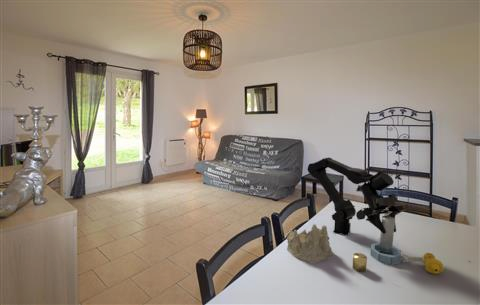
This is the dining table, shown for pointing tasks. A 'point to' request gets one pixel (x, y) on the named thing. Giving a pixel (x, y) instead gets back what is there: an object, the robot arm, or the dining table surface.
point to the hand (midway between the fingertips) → (390, 232)
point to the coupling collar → (383, 257)
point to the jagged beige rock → (310, 244)
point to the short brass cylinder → (359, 262)
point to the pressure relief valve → (427, 262)
